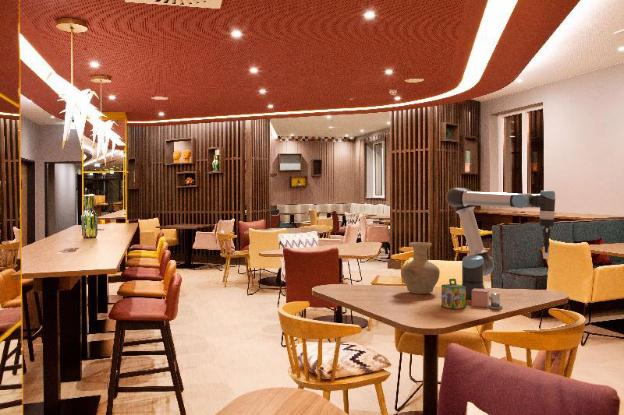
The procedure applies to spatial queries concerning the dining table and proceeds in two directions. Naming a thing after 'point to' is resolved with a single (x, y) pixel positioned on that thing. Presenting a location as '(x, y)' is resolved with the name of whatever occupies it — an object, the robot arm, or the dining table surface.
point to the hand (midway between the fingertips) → (545, 257)
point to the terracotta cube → (480, 297)
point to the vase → (420, 271)
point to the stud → (495, 301)
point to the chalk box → (453, 295)
